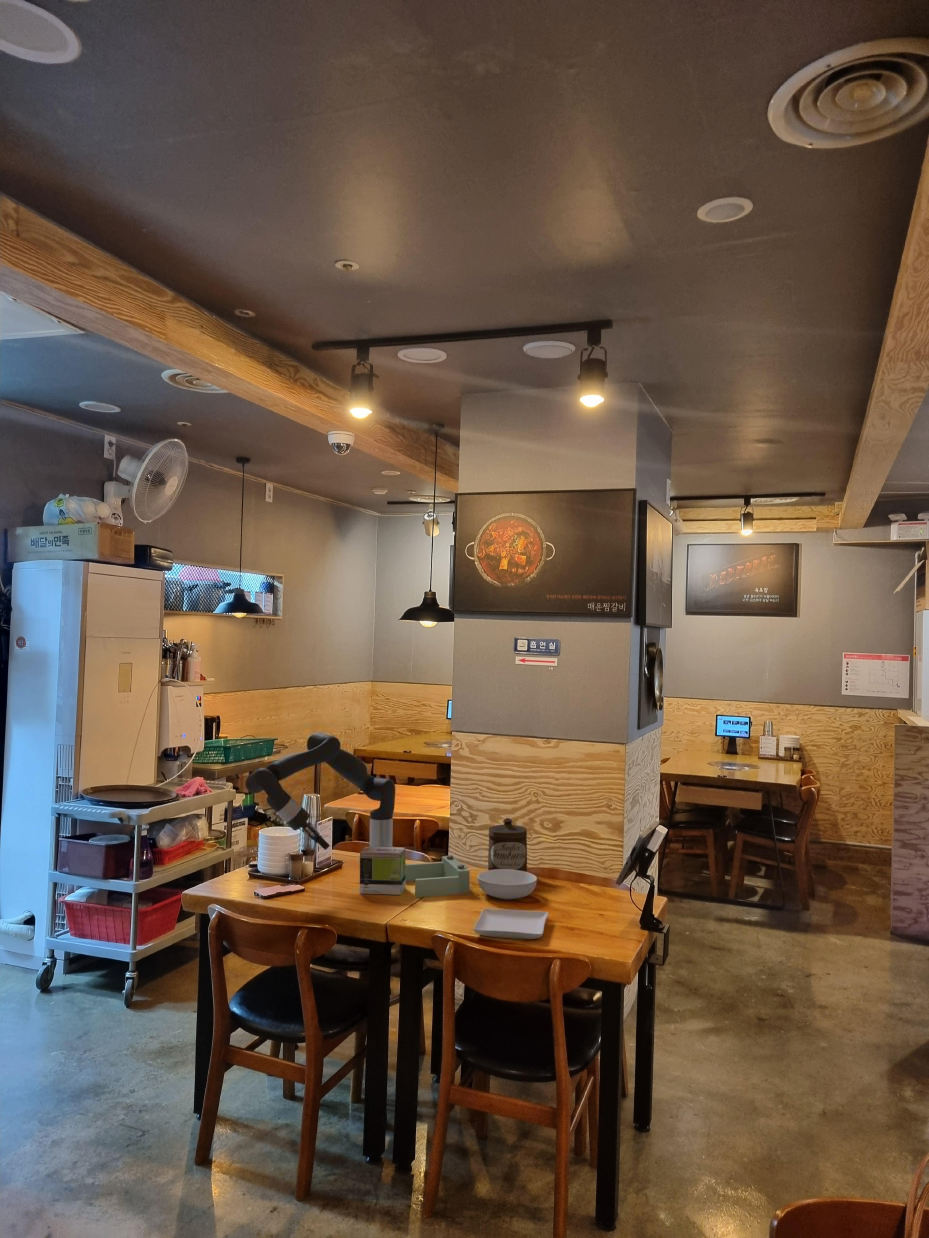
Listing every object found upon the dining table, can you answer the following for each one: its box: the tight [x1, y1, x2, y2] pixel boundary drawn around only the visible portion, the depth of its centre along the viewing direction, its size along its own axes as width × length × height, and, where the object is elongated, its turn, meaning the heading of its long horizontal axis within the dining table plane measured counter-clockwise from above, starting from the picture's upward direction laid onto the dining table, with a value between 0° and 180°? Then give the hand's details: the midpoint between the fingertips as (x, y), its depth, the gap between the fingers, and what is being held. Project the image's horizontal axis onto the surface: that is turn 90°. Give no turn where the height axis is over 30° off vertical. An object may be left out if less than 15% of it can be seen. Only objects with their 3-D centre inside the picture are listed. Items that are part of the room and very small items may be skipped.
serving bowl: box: [477, 869, 538, 901], centre depth 299 cm, size 21×21×7 cm
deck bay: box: [405, 854, 471, 898], centre depth 308 cm, size 22×20×9 cm
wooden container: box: [487, 817, 528, 872], centre depth 325 cm, size 15×15×22 cm
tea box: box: [359, 846, 406, 896], centre depth 303 cm, size 15×10×15 cm, turn 84°
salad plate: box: [472, 908, 549, 940], centre depth 263 cm, size 21×21×3 cm
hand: (327, 847), depth 297 cm, fingers closed
